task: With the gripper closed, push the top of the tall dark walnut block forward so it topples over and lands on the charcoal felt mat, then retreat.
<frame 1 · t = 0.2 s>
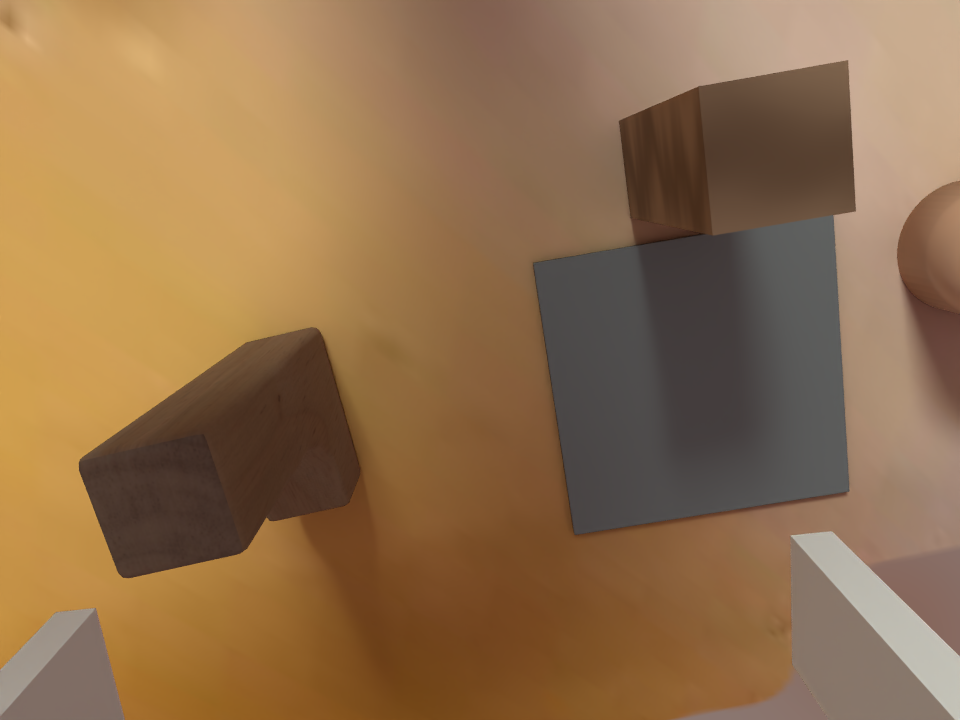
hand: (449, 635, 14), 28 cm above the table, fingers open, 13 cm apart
wooden block: (304, 408, 42), on the table
walnut block: (672, 161, 39), on the table
mat: (695, 380, 42), on the table
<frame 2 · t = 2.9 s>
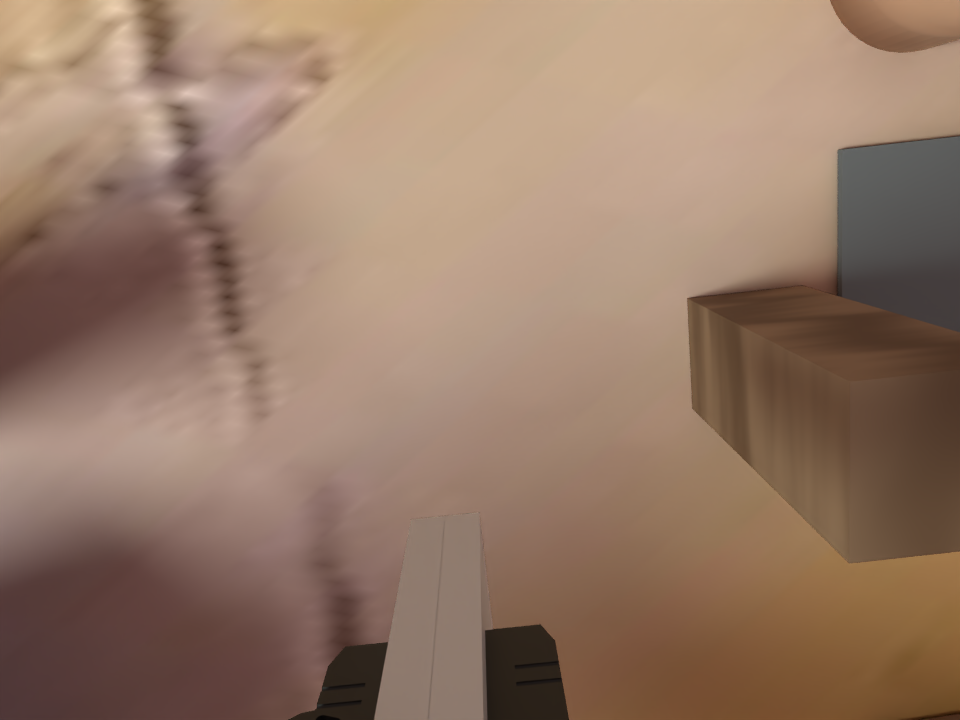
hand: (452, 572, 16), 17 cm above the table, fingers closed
walnut block: (746, 348, 33), on the table
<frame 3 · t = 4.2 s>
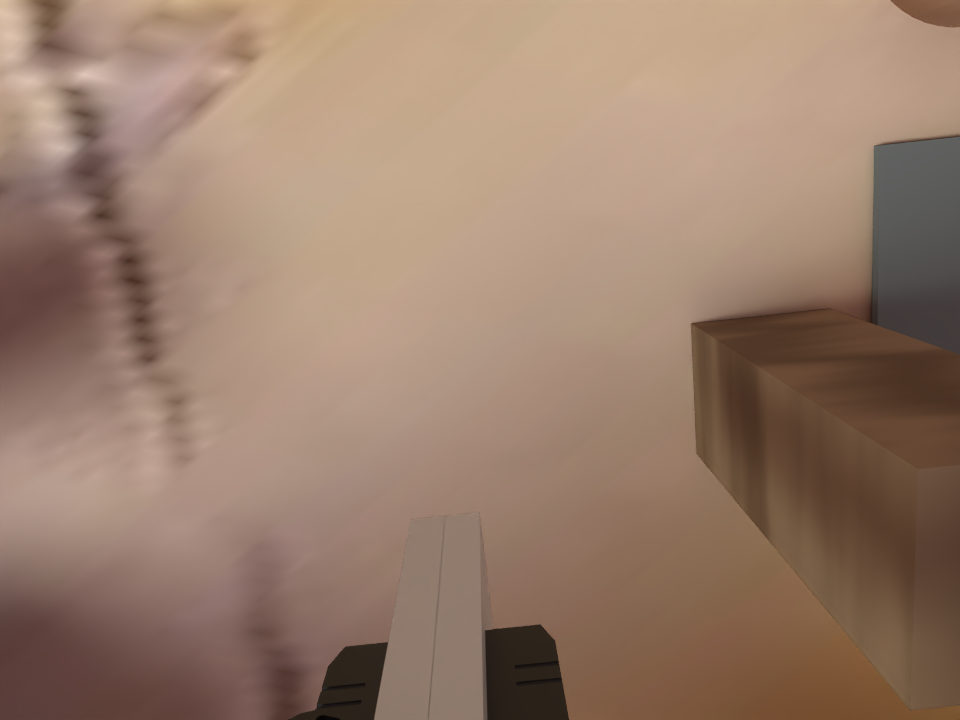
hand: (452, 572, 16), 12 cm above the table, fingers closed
walnut block: (761, 382, 27), on the table
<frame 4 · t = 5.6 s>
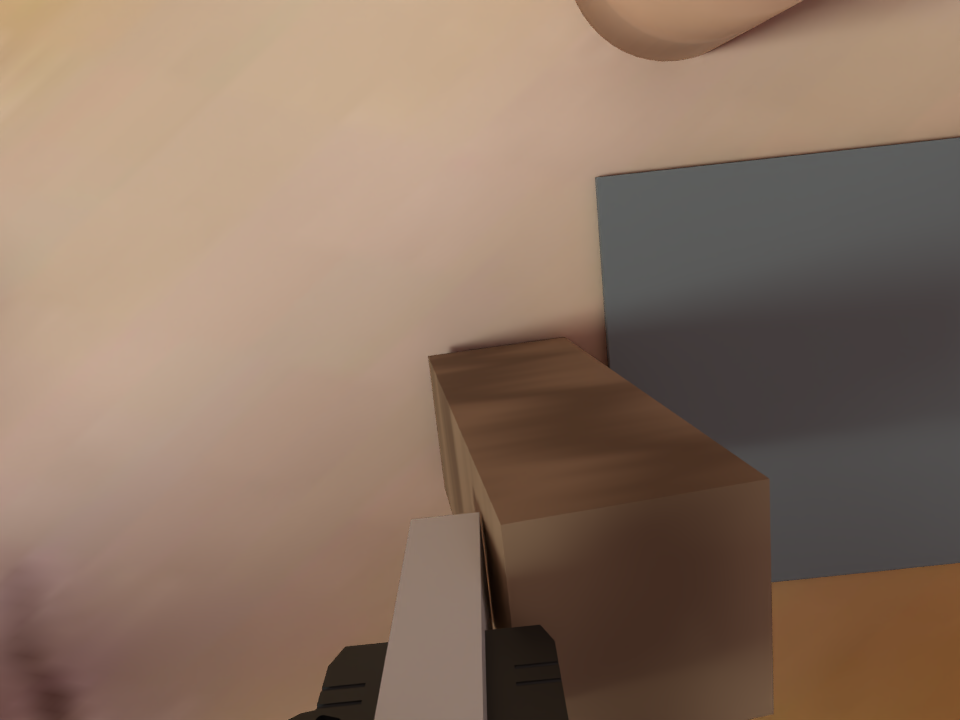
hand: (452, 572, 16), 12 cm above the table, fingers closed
walnut block: (504, 412, 27), on the table, tilted 8°, touching gripper
mat: (826, 375, 28), on the table
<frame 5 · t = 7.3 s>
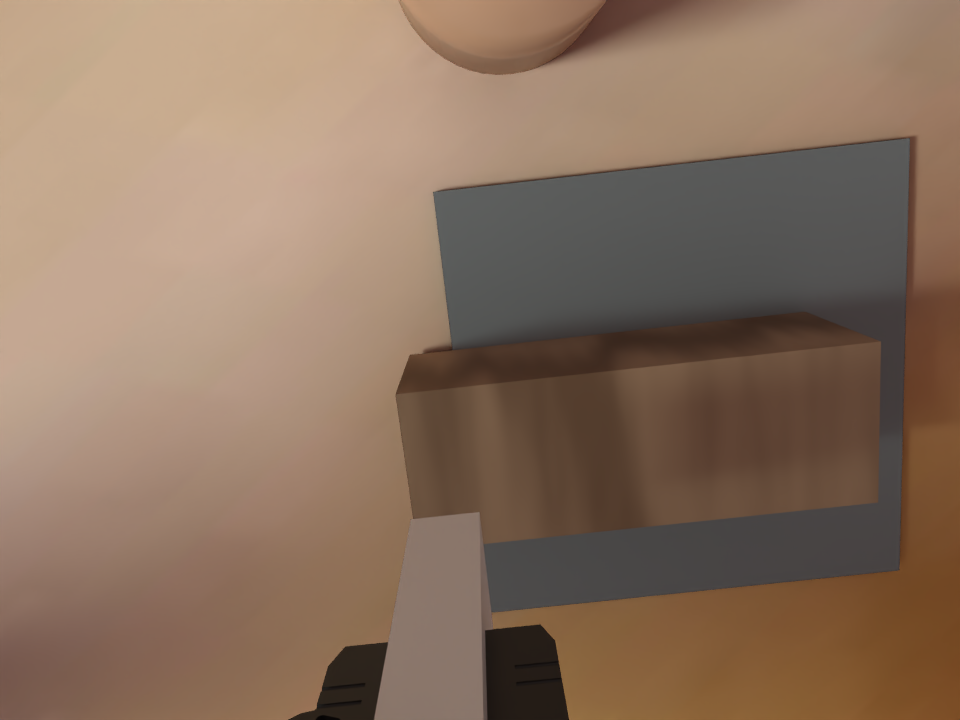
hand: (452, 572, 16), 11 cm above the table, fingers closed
walnut block: (413, 445, 25), point 3 cm above the table, tilted 90°, touching mat
mat: (678, 390, 27), on the table
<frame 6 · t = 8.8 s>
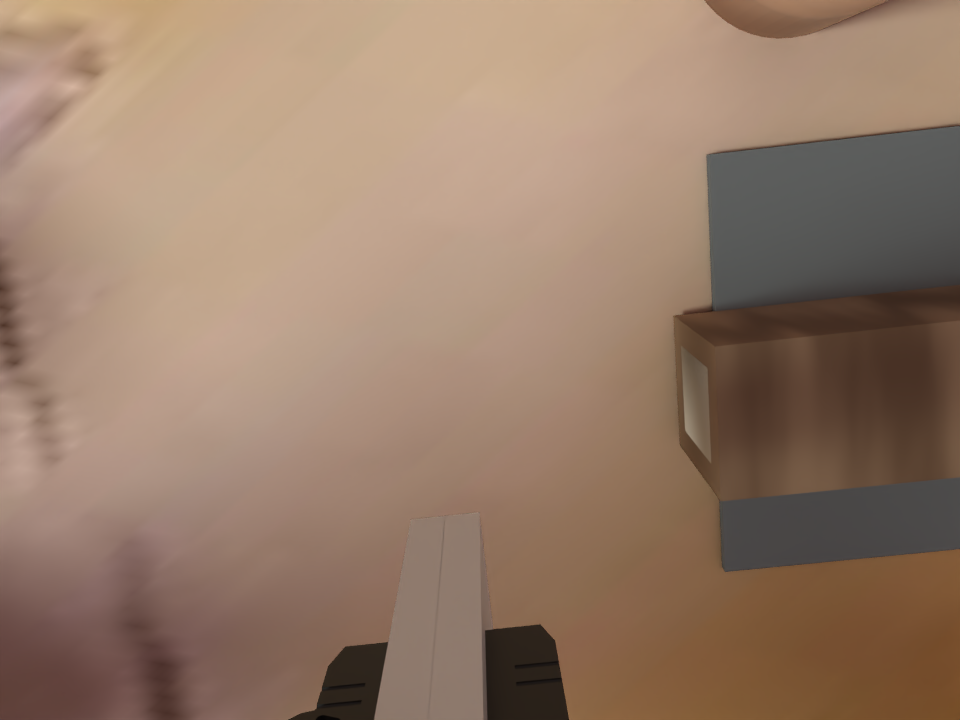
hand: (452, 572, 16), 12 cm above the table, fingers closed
walnut block: (695, 401, 25), point 3 cm above the table, tilted 90°, touching mat
mat: (931, 351, 28), on the table
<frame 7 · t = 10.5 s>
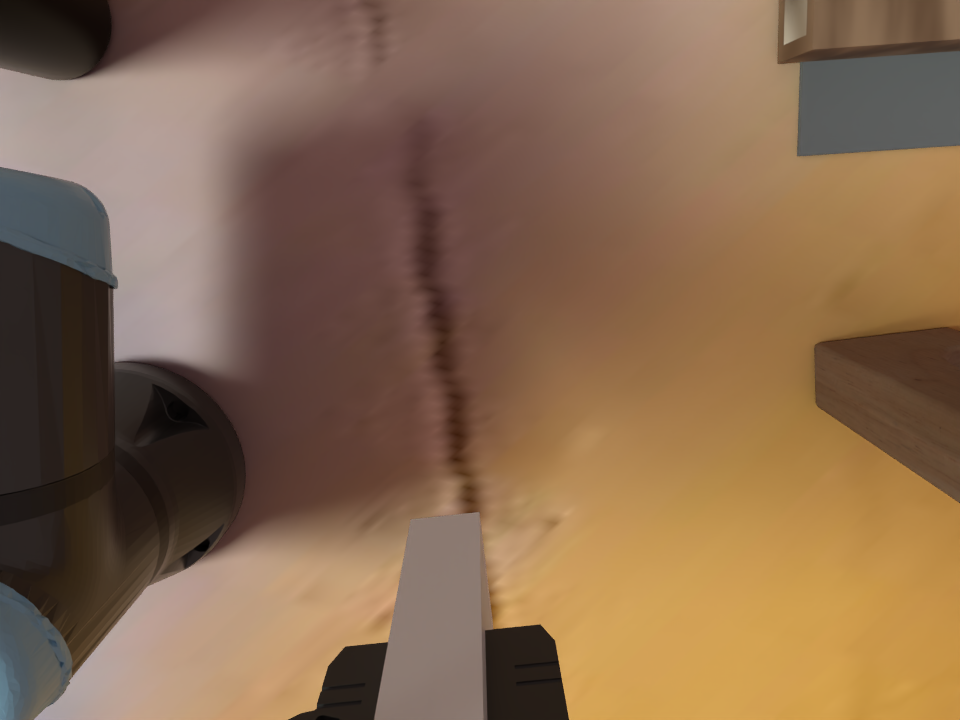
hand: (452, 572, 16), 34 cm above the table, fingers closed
wooden block: (878, 365, 50), on the table
walnut block: (795, 9, 42), point 3 cm above the table, tilted 90°, touching mat
mat: (936, 9, 45), on the table
battery: (58, 19, 46), on the table
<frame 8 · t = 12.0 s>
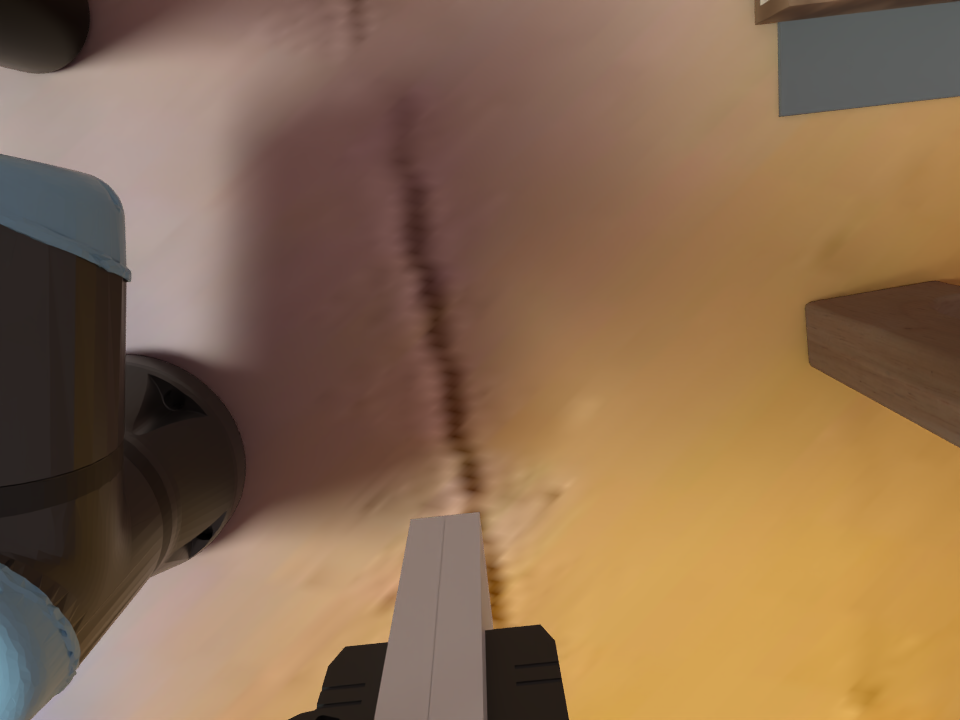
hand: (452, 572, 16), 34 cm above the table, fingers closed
wooden block: (869, 322, 50), on the table
battery: (35, 13, 45), on the table
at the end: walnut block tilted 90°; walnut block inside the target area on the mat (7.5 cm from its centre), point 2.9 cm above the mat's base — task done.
